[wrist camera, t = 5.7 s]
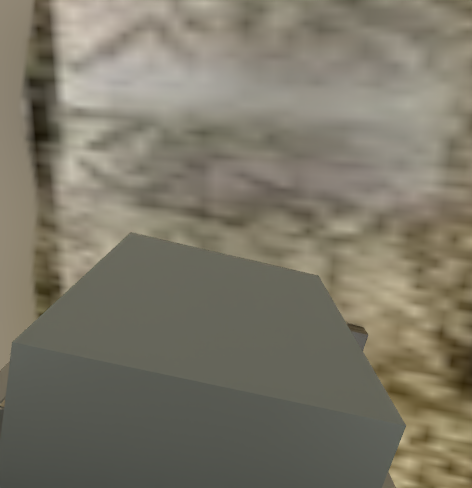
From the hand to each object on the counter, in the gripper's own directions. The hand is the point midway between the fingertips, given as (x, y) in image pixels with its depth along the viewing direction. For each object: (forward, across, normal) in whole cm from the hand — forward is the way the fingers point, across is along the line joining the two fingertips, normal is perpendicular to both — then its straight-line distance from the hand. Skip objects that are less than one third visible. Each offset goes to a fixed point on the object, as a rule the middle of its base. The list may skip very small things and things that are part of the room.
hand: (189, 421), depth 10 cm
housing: (+2, 0, 0) cm, 2 cm away
